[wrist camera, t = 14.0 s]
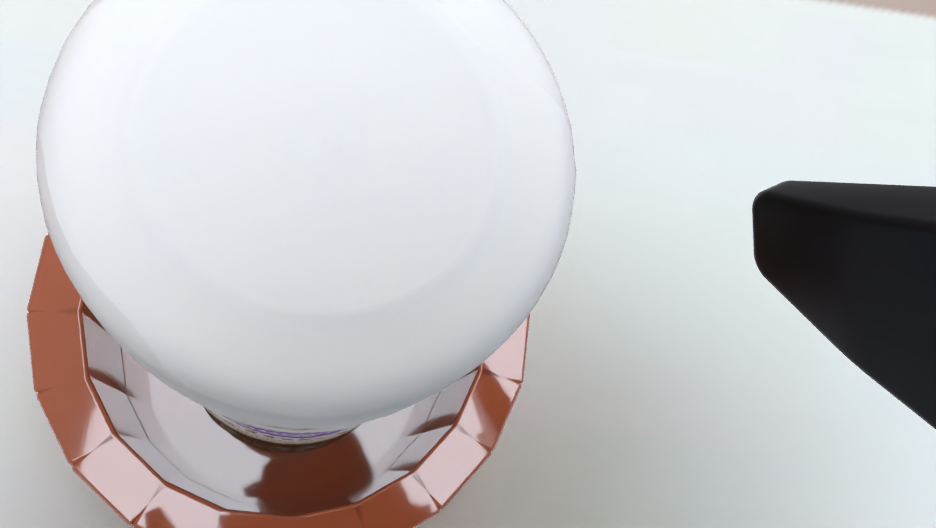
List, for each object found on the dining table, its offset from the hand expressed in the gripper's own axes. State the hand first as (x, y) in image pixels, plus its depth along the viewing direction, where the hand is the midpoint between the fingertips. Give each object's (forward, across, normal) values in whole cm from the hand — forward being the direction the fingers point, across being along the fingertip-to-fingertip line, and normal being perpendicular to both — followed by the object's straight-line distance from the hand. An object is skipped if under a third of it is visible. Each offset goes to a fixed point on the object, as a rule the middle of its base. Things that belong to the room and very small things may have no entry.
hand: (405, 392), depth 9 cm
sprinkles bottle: (+10, 0, +6) cm, 12 cm away
